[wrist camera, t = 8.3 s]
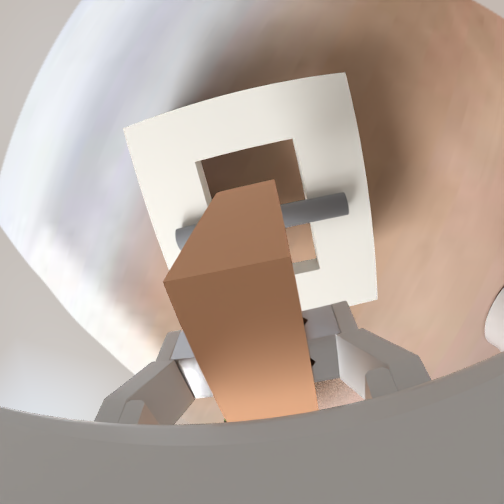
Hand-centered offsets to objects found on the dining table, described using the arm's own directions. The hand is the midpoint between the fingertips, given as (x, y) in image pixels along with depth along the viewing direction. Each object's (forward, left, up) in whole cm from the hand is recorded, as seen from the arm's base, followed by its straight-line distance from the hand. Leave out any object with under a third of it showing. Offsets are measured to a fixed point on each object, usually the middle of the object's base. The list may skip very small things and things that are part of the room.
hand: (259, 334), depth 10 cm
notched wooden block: (0, 0, -7) cm, 7 cm away
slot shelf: (0, 0, -23) cm, 23 cm away
